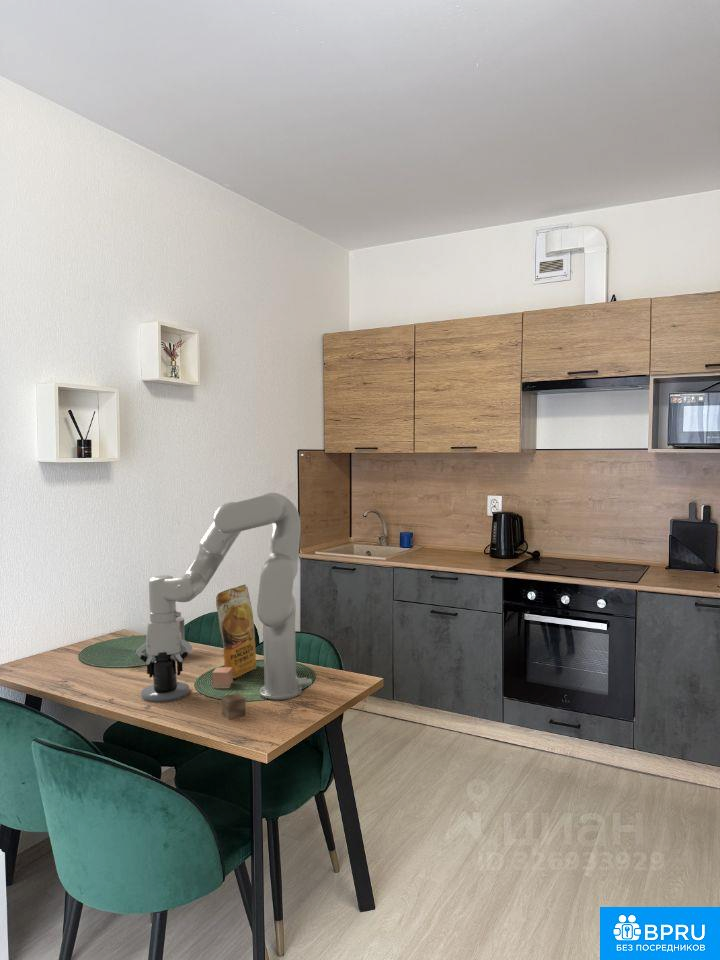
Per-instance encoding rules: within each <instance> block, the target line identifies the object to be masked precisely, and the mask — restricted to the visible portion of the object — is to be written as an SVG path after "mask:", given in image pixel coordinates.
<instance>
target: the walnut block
mask: <svg viewBox="0 0 720 960" xmlns="http://www.w3.org/2000/svg"><path fill="white" fill-rule="evenodd" d="M246 704H247V703H246V697H245V696H243V694H241V693H240V692H236V693H232V694H227V695H224V696H221V715H222V716H224V717H225V718H226V719H227V720H228V721H230V720H234V719H239V718H242V717H246V716H247V709H246V706H247V705H246Z"/></svg>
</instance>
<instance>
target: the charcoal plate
mask: <svg viewBox="0 0 720 960" xmlns="http://www.w3.org/2000/svg"><path fill="white" fill-rule="evenodd" d="M189 693H190V685H189V684H188V683H185V682H180V681H177V688H176V689H175V690H173V691H171V692H167V693H157V692H155V691H154V684H151V685H148V686H146V687H145V688H143V689H142V690H141V691H140V697H142V698H141V699H142V700H143V699H144V701H145V700H146V702H149V701H151V702H150V703H165V702H167V703H168V702H172V701H177V700H179V699H182V698H184V697H186V696H188V694H189Z"/></svg>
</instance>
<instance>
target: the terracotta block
mask: <svg viewBox="0 0 720 960" xmlns="http://www.w3.org/2000/svg"><path fill="white" fill-rule="evenodd" d="M211 673H212V674H211V675H212V677H211V678H212V688H213V687H229V686H230V684H231V683H232V682H233V683H234V679H233V672H232V667H224V666H221V667H220V666H219V667H215V669H214V670H213V671H212V672H211ZM233 683H232V684H233ZM230 687H231V686H230ZM230 687H229V688H230Z"/></svg>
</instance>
